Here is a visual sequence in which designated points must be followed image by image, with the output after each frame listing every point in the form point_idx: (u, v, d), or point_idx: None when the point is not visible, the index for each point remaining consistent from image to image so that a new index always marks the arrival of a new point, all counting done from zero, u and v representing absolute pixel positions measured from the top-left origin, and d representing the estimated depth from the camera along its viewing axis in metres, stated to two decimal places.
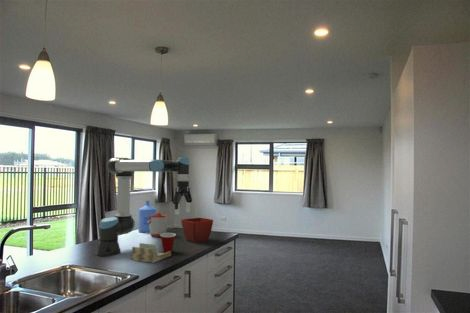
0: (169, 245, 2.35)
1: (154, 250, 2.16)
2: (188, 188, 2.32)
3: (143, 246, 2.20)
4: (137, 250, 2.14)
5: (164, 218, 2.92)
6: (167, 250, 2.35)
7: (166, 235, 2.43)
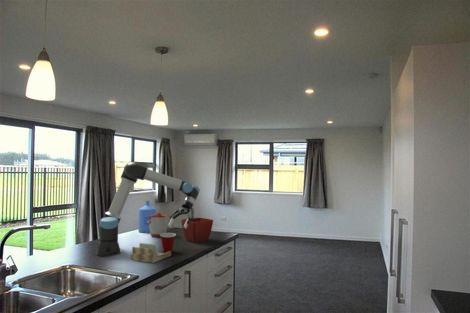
0: (169, 245, 2.35)
1: (154, 250, 2.16)
2: None
3: (143, 246, 2.20)
4: (137, 250, 2.14)
5: (164, 218, 2.92)
6: (167, 250, 2.35)
7: (166, 235, 2.43)
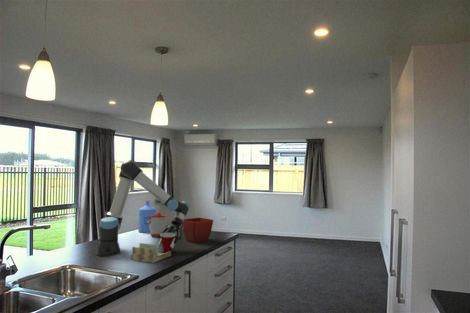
0: (169, 245, 2.35)
1: (154, 250, 2.16)
2: None
3: (143, 246, 2.20)
4: (137, 250, 2.14)
5: (164, 218, 2.92)
6: (167, 250, 2.35)
7: (166, 235, 2.43)
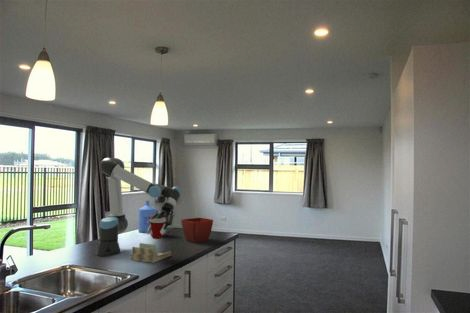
0: (159, 231, 2.22)
1: (154, 250, 2.16)
2: None
3: (143, 246, 2.20)
4: (137, 250, 2.14)
5: (164, 218, 2.92)
6: (157, 236, 2.22)
7: (156, 221, 2.29)
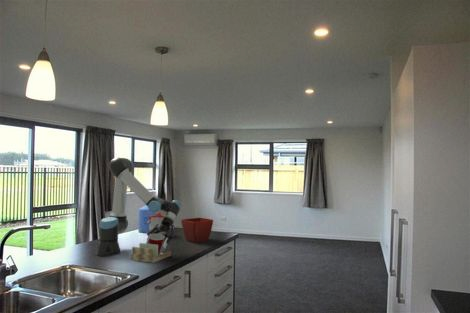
0: None
1: (154, 250, 2.16)
2: None
3: (143, 246, 2.20)
4: (137, 250, 2.14)
5: None
6: None
7: (155, 236, 2.30)
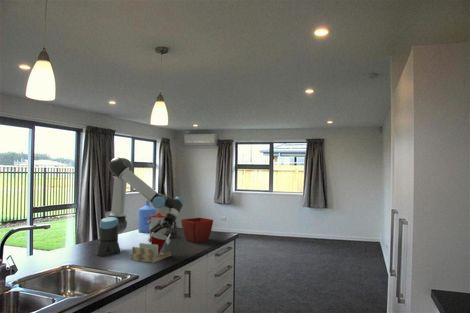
0: (158, 247, 2.24)
1: (154, 250, 2.16)
2: None
3: (143, 246, 2.20)
4: (137, 250, 2.14)
5: None
6: None
7: (157, 236, 2.32)
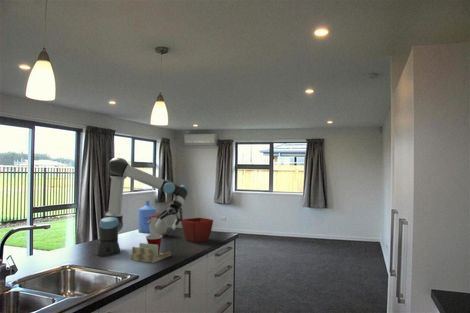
0: None
1: (154, 250, 2.16)
2: None
3: (143, 246, 2.20)
4: (137, 250, 2.14)
5: (164, 218, 2.92)
6: None
7: (152, 237, 2.31)
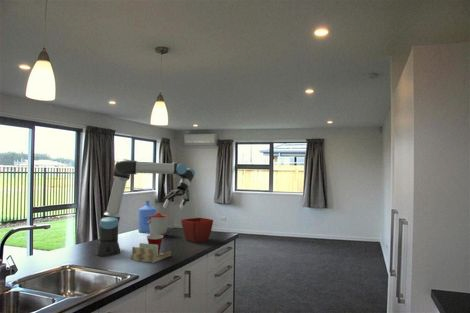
0: None
1: (154, 250, 2.16)
2: None
3: (143, 246, 2.20)
4: (137, 250, 2.14)
5: (164, 218, 2.92)
6: None
7: (153, 237, 2.32)
